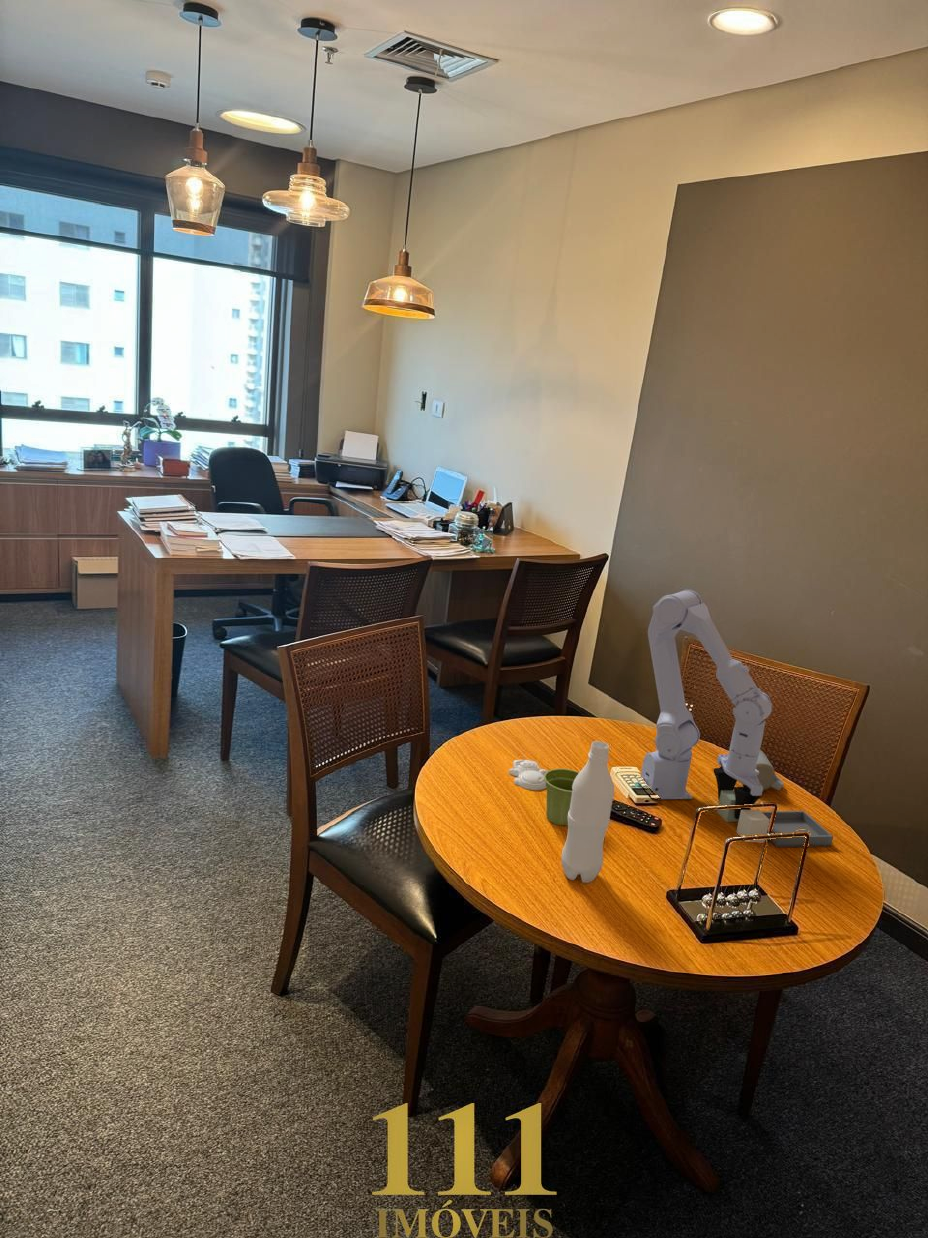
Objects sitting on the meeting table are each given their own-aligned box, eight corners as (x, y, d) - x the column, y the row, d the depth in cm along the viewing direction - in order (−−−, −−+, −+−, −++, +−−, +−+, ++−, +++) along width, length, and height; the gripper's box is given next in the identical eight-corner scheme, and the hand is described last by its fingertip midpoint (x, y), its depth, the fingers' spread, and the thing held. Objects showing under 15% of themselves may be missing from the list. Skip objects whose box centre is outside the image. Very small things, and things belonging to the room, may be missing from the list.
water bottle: (590, 892, 141) (612, 758, 134) (552, 876, 144) (572, 745, 137) (606, 873, 147) (628, 744, 140) (569, 858, 150) (589, 732, 143)
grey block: (746, 842, 162) (751, 820, 161) (736, 832, 166) (741, 809, 165) (764, 842, 163) (769, 820, 162) (754, 831, 167) (759, 809, 166)
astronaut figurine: (545, 767, 186) (547, 755, 186) (551, 793, 175) (553, 780, 174) (506, 764, 186) (508, 752, 185) (510, 789, 174) (512, 776, 174)
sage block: (726, 821, 170) (730, 800, 169) (716, 811, 174) (721, 790, 172) (743, 821, 171) (748, 799, 169) (733, 811, 175) (738, 790, 173)
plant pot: (594, 821, 164) (601, 782, 162) (566, 836, 158) (573, 795, 155) (557, 802, 170) (563, 764, 168) (528, 816, 164) (534, 776, 161)
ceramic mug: (742, 791, 184) (749, 760, 182) (729, 774, 192) (736, 744, 190) (788, 796, 185) (796, 765, 182) (774, 779, 192) (781, 749, 190)
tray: (777, 847, 162) (779, 837, 161) (750, 821, 171) (752, 811, 171) (830, 846, 164) (833, 836, 164) (801, 820, 174) (803, 810, 173)
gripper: (781, 766, 162) (767, 828, 166) (743, 735, 176) (731, 793, 180) (749, 766, 161) (736, 828, 164) (713, 735, 174) (701, 793, 178)
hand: (731, 810), depth 172 cm, fingers open, 6 cm apart
